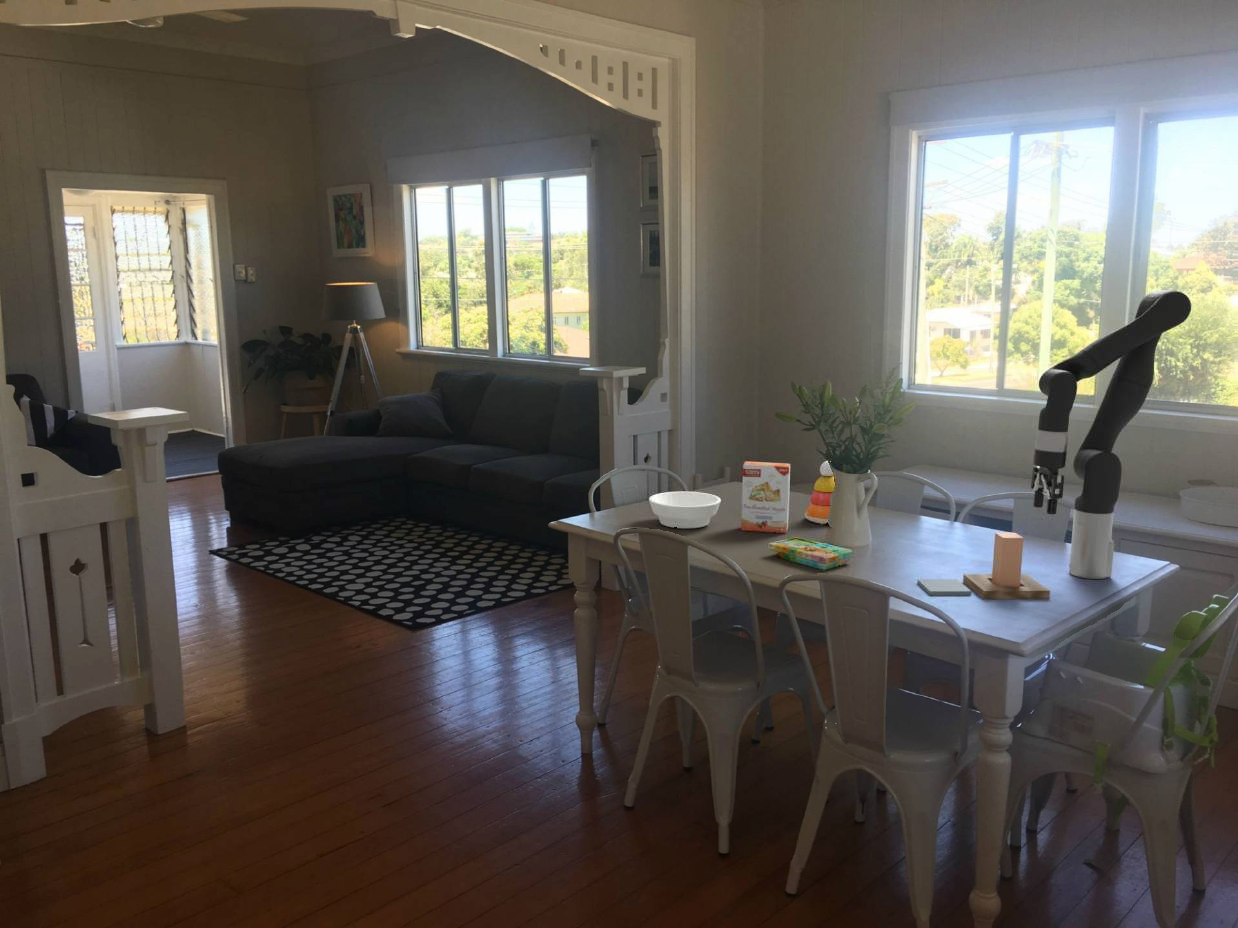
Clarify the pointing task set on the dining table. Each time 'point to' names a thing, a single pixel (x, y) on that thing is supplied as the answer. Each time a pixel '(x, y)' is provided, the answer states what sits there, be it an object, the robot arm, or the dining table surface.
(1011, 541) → the terracotta block
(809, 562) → the puzzle game
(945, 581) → the slate pad
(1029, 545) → the dining table surface
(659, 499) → the bowl
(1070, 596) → the dining table surface
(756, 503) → the cracker box
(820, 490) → the stacking toy
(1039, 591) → the walnut puzzle board
